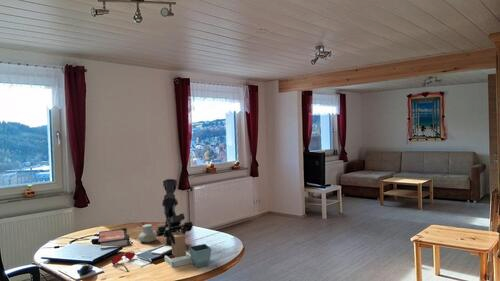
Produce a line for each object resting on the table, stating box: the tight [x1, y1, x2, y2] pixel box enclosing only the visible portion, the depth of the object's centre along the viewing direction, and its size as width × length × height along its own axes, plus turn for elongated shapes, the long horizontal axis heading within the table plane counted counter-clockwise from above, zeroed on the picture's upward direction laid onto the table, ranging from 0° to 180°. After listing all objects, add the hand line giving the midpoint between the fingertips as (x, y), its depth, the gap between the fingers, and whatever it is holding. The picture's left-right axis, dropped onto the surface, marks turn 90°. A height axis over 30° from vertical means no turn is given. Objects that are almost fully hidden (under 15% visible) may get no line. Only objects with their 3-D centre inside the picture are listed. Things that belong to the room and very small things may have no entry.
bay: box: [164, 251, 194, 268], centre depth 197 cm, size 12×12×2 cm
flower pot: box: [188, 243, 212, 268], centre depth 191 cm, size 9×9×9 cm
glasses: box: [110, 250, 153, 273], centre depth 195 cm, size 14×16×5 cm
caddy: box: [171, 231, 187, 258], centre depth 197 cm, size 7×5×11 cm
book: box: [97, 227, 131, 247], centre depth 238 cm, size 26×18×5 cm
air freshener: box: [138, 223, 158, 244], centre depth 235 cm, size 11×8×10 cm
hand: (179, 242), depth 196 cm, fingers closed on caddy, 5 cm apart
